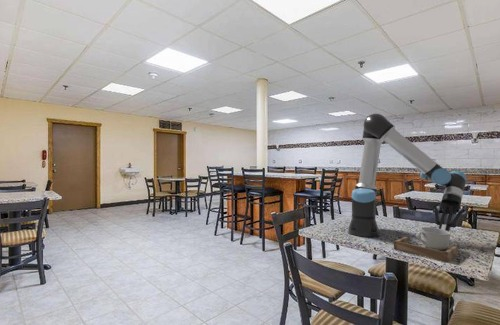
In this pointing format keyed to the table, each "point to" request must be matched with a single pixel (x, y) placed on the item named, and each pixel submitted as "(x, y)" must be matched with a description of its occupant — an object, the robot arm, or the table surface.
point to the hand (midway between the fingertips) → (441, 238)
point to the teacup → (434, 238)
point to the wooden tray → (425, 250)
